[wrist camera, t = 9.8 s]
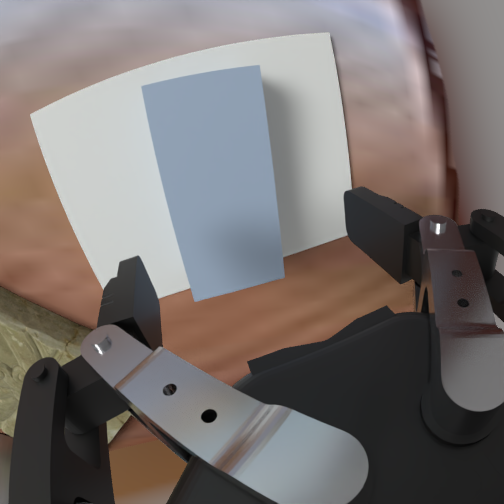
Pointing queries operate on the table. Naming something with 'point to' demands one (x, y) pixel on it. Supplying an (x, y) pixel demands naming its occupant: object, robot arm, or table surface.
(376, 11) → the table surface
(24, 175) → the table surface
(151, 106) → the block
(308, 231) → the mat
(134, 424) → the table surface
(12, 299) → the decorative tile
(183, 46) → the table surface
